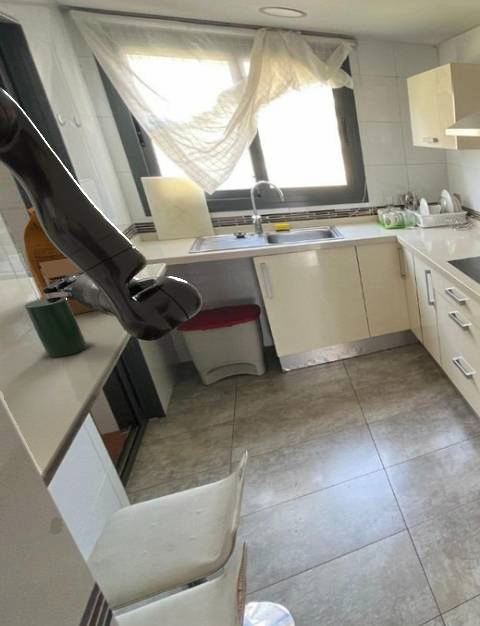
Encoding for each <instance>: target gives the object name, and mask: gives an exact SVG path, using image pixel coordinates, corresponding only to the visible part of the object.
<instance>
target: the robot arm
mask: <svg viewBox="0 0 480 626" xmlns="http://www.w3.org/2000/svg"><path fill="white" fill-rule="evenodd" d="M0 164H1V165H3V166H4V167H5V168H6V169H7V170H8V172H10V173H11V174H12V175H13V177H14V178H15V179H16V180H17V181H18V182H19V184H20V185H21V187H22V188H23V189H24V191H25V193H26V195H27V196H28V198H29V201H30V203H31V205H32V207H34V210H35V212H36V215H37V217H38V220H39V222H40V224H41V226H42V228H43V230H44V232H45V234H46V235H47V237H48V238H49V239H50V241H51V242H52V243H53V244H54V246H55V247H56V248H57V249H58V250H59V251H60V252H61V253H62V254H63V255H64V256H66V257H67V258H68V259H69V260H70V261H71V262H72V263H73V264H74V265H75V266H76V267H78V268H79V269H80V270H81V271H82V272H85V273H83V274H78V273H72V274H67V275H65V277H64V278H63V279H61V280H58V281H56V282H54V283H52V284H50V285H49V286H47V287H45V288H43V289H42V290H43V292H44V295H45V297H46V299H47V301H48V303H54V302H56V301H58V300H60V299H64V297H66V298H68V299H71V300H77V301H78V302H80V303H81V304H82V305H84V306H86V307H88V308H91V309H93V311H97V312H98V313H101V314H104V315H106V316H110V317H111V316H112V317H116V319H117V321H118V323H119V324H120V326H121V327H122V328H123V330H124V331H125V332H126V333H127V334H128V335H130V336H132V337H133V338H135V339H137V340H141V341H146V342H153V341H157V340H159V339H160V338H162V337H164V336H166V335H167V334H169V333H170V332H172V331H173V330H175V329H176V328H178V327H180V325H182V324H184V323H186V322H187V321H188V320H191V319H193V317H195V316H196V315H197V314H198V313H199V312H200V311H201V309H202V308H203V307H202V306H203V298H202V295H201V293H200V292H199V291H198V289H197V288H196V287H195V286H194V285H192V284H191V283H189V282H188V281H186V280H183V279H181V278H178V277H174V276H167V275H166V276H165V275H164V276H162V275H161V276H153V277H145V278H138V277H136V276H137V275H139V274H140V273H141V272H142V271H143V270H144V269H145V268H146V267H147V266H148V259H147V258H146V256H145V255H144V254H143V253H142V251H140V250H139V249H138V247H136V246H135V245H134V244H133V243H132V242H131V241H130V240H129V239H128V238H127V237H126V236H125V234H123V233H122V232H121V231H120V229H118V228H117V227H116V226H115V225H114V223H112V221H111V220H109V218H107V216H105V214H104V213H103V212H102V211H101V210H100V209H99V208H98V207H97V206H96V204H95V203H94V202H93V201H92V199H90V198H89V196H88V195H87V194H86V192H84V190H83V189H82V188H81V186H80V185H79V184H78V182H77V181H76V180H75V179H74V177H73V175H72V174H71V173H70V172H69V170H68V169H67V168H66V166H65V165H64V164H63V162H62V161H61V159H60V158H59V156H58V155H57V154H56V153H55V151H53V149H52V148H51V147H50V145H49V144H48V142H47V141H46V140H45V138H44V137H43V135H42V133H40V131H39V130H38V129H37V127H36V126H35V124H34V123H33V122H32V120H31V119H30V118H29V116H28V115H27V114H26V112H25V111H24V110H23V109H22V107H20V105H19V104H18V102H16V101H15V99H14V98H13V97H12V96H10V94H9V93H8V92H7V91H6V90H4V89H3V88H2V87H1V86H0Z"/></svg>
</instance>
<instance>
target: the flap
mask: <svg viewBox="0 0 480 626" xmlns="http://www.w3.org/2000/svg"><path fill="white" fill-rule="evenodd" d="M39 264H40V266H41V267H42V269H43V271H44V273H45V275H46V277H47V279H52V278H57V277H63V276H65V275H67V274H72V273H78V274H81V273H85V272H82V271H81V270H80V269H79V268H78V267H76V266H75V265H74V264H73V263H72V262H71V261H70V260H69V259H61V260H54V261H48V262H41V263H39Z"/></svg>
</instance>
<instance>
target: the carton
mask: <svg viewBox="0 0 480 626" xmlns="http://www.w3.org/2000/svg"><path fill="white" fill-rule="evenodd" d="M40 270H41V271H42V272H41V273H42V275H43V277H44V280H45V282H46V284H47V286H49V285H50V284H52V283H54V282H56V281H58V280H61V279H63V278H64V277H65V276H63V277H57V278H52V279H47V277H46V275H45V273H44V271H43V269H40ZM81 274H83V273H81ZM67 300H68V302H69V305H70V307H71V309H72V312H73V314H74V315H78V314H83V313H87V312H92V311H93V312H94V310H93V309H91V308H88V307H86V306H84V305H82V304H81V303H80V302H78V301H77V300H71V299H68V298H67Z"/></svg>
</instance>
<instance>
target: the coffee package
mask: <svg viewBox="0 0 480 626" xmlns="http://www.w3.org/2000/svg"><path fill="white" fill-rule="evenodd" d="M26 211H27V212H28V213H29V214H31V215H30V218H29V220H28V222H27V224H26V226H25V228H24V231H23V242H24V249H25V255H26V256H25V257H26V259H27V263H28V266H29V269H30V272H31V275H32V277H33V280H34V282H35V285H36V287H37V289H38V291H39V293H40V295H41V297H42V299H45V298H46V297H45V295H44V292H43V290H42V289H43V288H45V287H47V284H46V282H45V280H44V277H43V275H42V273H41V272H42V271H41V270H40V269H42V267H41V266H40V264H39V263H41V262H48V261H54V260H61V259H68V258H67V257H66V256H64V255H63V254H62V253H61V252H60V251H59V250H58V249H57V248H56V247H55V246H54V244H53V243H52V242H51V241H50V239H49V238H48V237H47V235H46V234H45V232H44V230H43V228H42V226H41V224H40V222H39V220H38V217H37V215H36V212H35V210H34V207H33V206H32V207H30V208H29V209H28V208H27V209H26Z"/></svg>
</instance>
